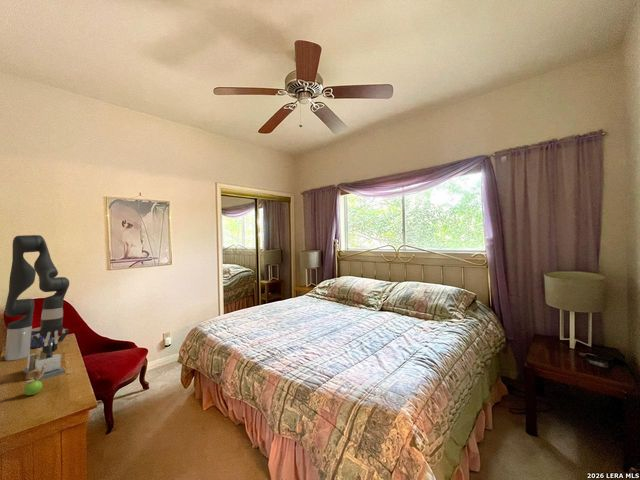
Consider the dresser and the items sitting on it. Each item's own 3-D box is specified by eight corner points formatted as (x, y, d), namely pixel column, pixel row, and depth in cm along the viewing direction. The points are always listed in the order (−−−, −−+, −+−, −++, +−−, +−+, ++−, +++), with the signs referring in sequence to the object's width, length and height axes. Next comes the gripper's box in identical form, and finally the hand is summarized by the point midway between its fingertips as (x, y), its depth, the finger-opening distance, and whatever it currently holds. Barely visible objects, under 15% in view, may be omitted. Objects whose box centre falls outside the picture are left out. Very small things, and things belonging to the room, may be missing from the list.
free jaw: (34, 373, 123) (37, 343, 124) (57, 367, 130) (59, 339, 131) (37, 375, 121) (39, 344, 122) (60, 368, 129) (62, 340, 129)
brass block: (39, 371, 126) (40, 350, 126) (34, 368, 129) (36, 348, 129) (50, 368, 129) (51, 348, 130) (45, 365, 132) (47, 346, 133)
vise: (23, 372, 128) (24, 355, 128) (51, 364, 137) (52, 348, 137) (36, 381, 119) (37, 362, 120) (64, 372, 128) (66, 355, 128)
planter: (26, 350, 155) (28, 332, 156) (30, 345, 164) (31, 328, 164) (52, 346, 163) (53, 328, 163) (54, 341, 171) (55, 325, 171)
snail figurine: (47, 391, 111) (50, 363, 112) (27, 399, 105) (29, 369, 106) (40, 388, 113) (42, 361, 113) (19, 396, 107) (22, 367, 107)
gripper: (34, 321, 119) (31, 358, 118) (73, 315, 131) (71, 349, 130) (29, 319, 123) (26, 355, 122) (67, 313, 135) (65, 346, 134)
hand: (49, 352), depth 126 cm, fingers closed on free jaw, 2 cm apart
